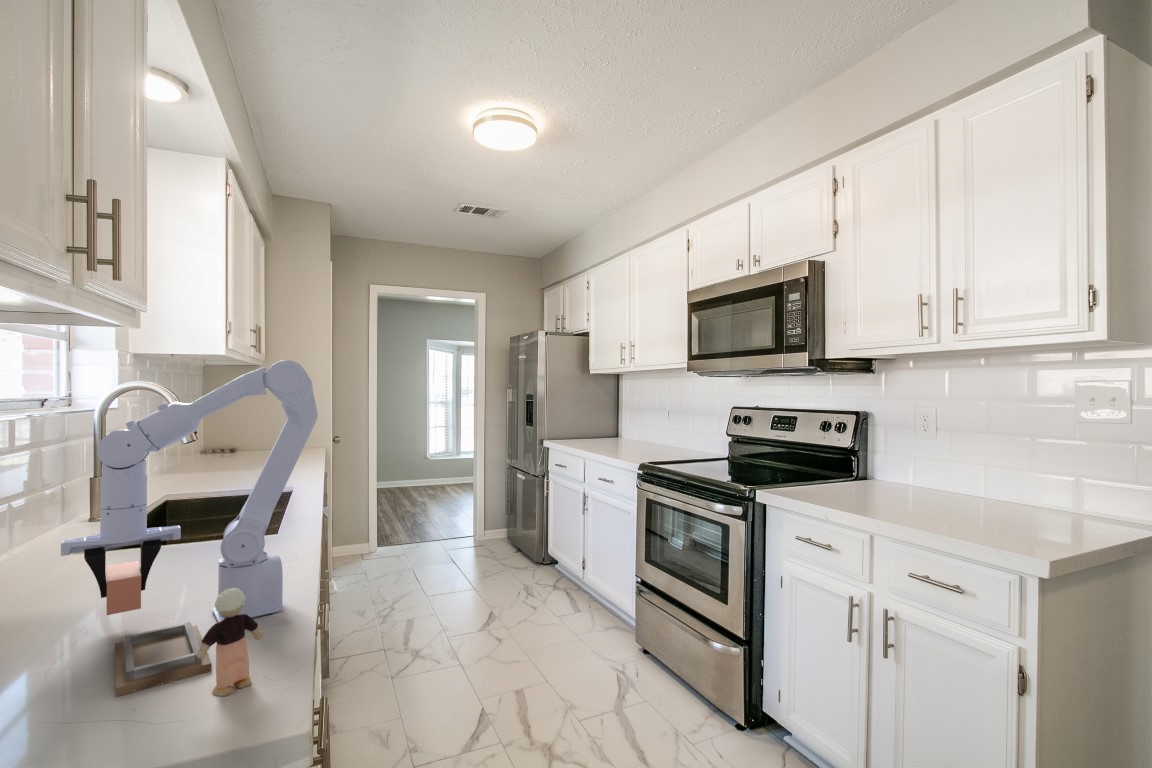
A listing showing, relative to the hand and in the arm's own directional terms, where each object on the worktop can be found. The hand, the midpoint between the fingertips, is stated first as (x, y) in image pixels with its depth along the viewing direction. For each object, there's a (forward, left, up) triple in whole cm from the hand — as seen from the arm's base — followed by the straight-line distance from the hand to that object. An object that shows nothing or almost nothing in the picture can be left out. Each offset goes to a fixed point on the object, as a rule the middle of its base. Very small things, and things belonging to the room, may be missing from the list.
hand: (123, 592), depth 87 cm
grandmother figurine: (-10, +30, -7) cm, 32 cm away
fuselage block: (0, 0, -2) cm, 2 cm away
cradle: (-4, +15, -6) cm, 17 cm away
